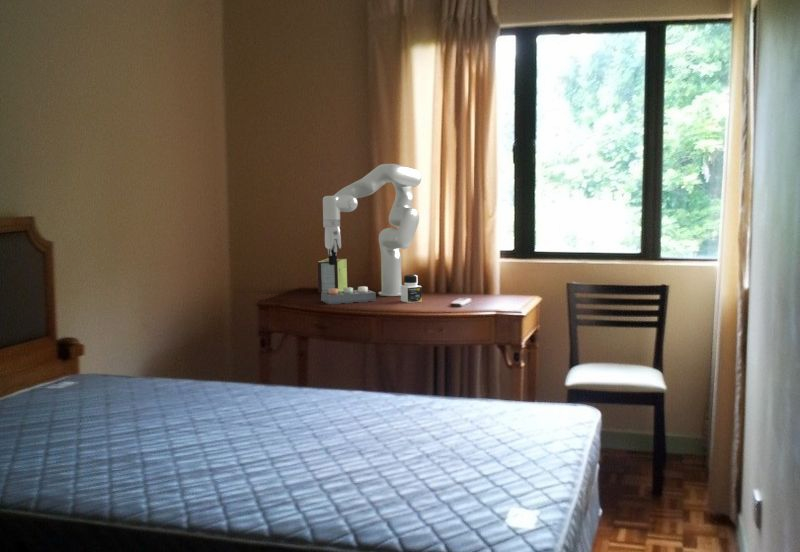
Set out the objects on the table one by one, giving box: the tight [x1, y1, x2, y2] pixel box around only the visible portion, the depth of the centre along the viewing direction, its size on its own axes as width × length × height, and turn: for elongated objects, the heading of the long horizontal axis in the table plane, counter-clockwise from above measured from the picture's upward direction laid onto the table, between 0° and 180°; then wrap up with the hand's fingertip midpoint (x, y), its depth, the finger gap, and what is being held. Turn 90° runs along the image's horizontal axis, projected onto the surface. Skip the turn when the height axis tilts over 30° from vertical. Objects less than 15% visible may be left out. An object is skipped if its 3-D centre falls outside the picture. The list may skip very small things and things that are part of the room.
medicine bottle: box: [400, 274, 423, 304], centre depth 389 cm, size 7×7×12 cm
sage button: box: [343, 286, 354, 293], centre depth 393 cm, size 4×4×3 cm
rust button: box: [329, 288, 338, 294], centre depth 390 cm, size 4×4×3 cm
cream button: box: [357, 285, 369, 292], centre depth 395 cm, size 4×4×3 cm
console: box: [320, 289, 377, 305], centre depth 393 cm, size 22×12×4 cm, turn 112°
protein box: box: [317, 258, 348, 294], centre depth 427 cm, size 10×15×16 cm
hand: (332, 264), depth 389 cm, fingers closed
